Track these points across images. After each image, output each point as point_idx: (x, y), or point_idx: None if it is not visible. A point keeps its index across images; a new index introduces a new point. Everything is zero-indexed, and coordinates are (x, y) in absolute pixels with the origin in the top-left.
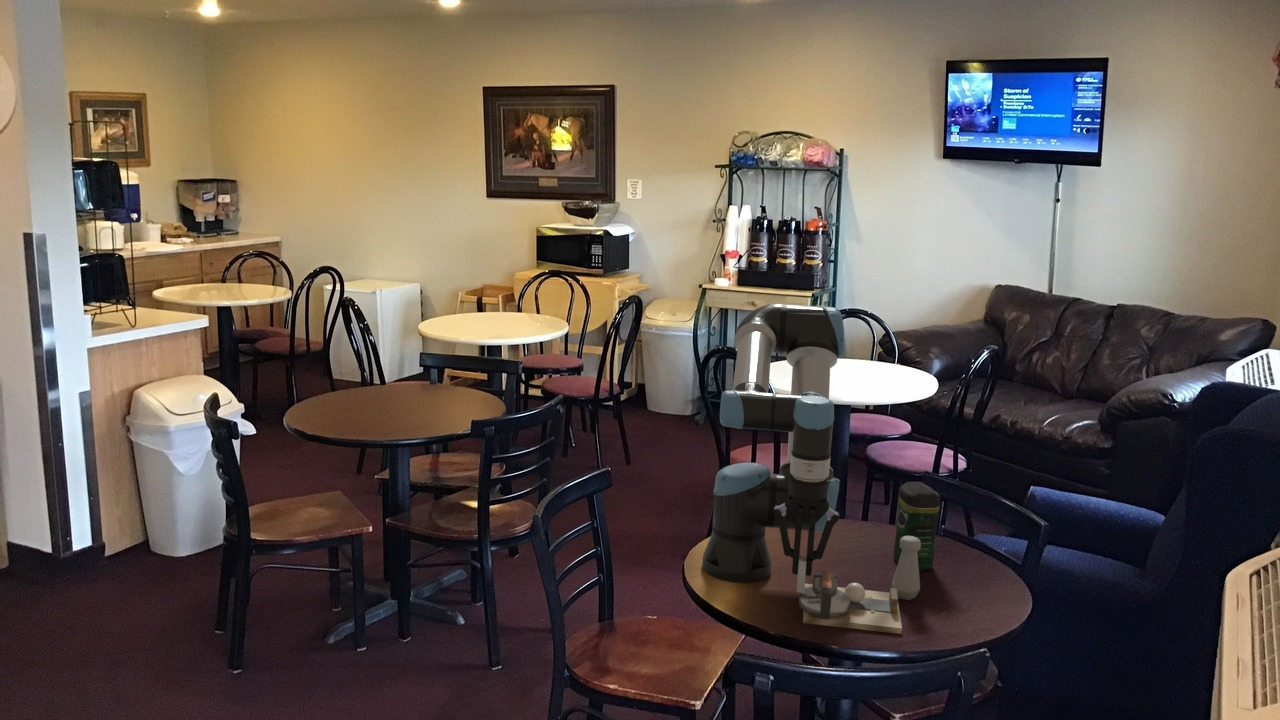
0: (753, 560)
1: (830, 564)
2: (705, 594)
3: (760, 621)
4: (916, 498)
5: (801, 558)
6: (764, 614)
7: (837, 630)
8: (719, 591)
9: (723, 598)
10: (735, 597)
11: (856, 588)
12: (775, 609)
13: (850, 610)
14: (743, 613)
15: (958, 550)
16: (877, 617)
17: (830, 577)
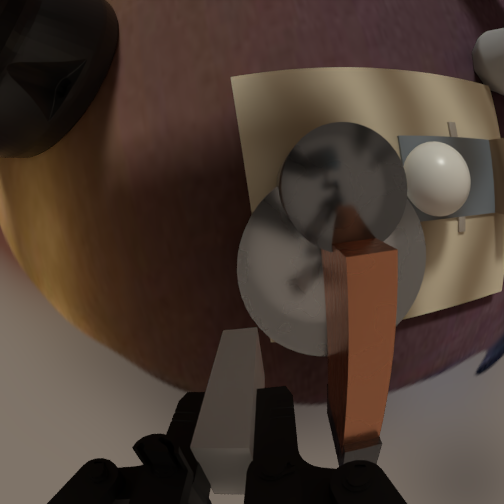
0: (37, 95)
1: None
2: (19, 255)
3: (161, 357)
4: None
5: (219, 474)
6: (156, 318)
7: None
8: (31, 224)
9: (48, 260)
10: (64, 242)
11: (456, 205)
12: (174, 276)
13: None
14: (110, 327)
15: None
16: (469, 255)
17: (391, 334)
